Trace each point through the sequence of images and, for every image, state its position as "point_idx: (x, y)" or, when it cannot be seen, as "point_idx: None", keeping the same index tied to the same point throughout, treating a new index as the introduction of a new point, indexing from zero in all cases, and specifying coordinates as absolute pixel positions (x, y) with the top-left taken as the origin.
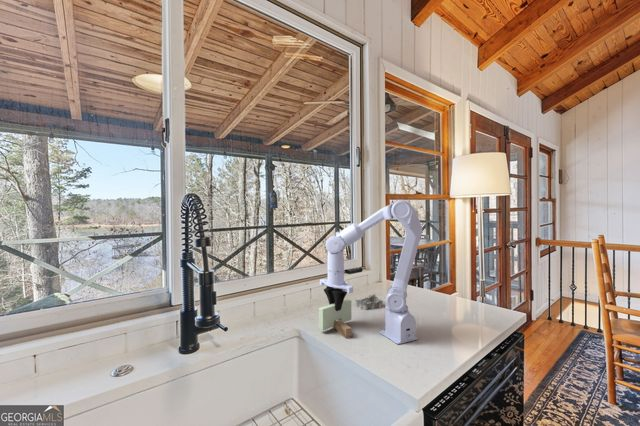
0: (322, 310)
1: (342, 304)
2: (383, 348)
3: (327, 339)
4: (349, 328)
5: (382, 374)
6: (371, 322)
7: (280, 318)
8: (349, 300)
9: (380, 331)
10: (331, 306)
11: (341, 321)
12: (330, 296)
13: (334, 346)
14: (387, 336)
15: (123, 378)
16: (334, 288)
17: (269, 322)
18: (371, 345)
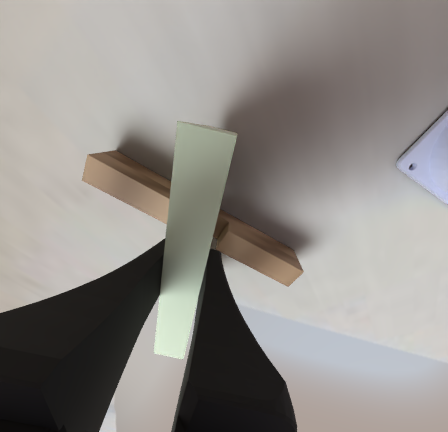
0: (182, 353)
1: (211, 241)
2: (412, 263)
3: (234, 288)
4: (297, 277)
5: (410, 348)
6: (331, 48)
7: (14, 246)
8: (222, 153)
9: (404, 165)
10: (188, 319)
11: (237, 239)
12: (129, 351)
13: (270, 307)
14: (438, 195)
15: (103, 427)
16: (69, 422)
17: (30, 281)
18: (370, 264)
